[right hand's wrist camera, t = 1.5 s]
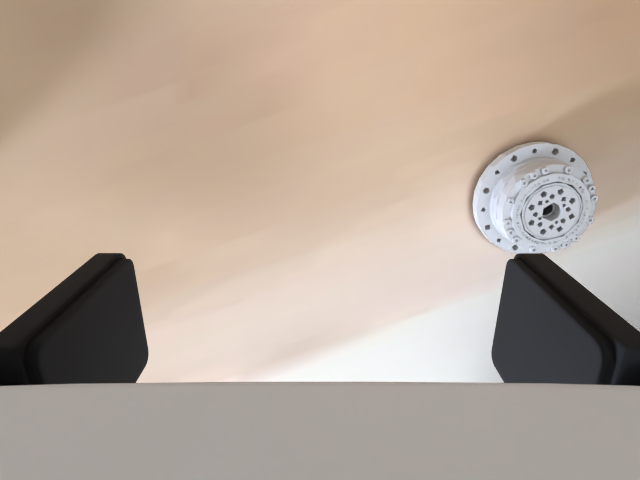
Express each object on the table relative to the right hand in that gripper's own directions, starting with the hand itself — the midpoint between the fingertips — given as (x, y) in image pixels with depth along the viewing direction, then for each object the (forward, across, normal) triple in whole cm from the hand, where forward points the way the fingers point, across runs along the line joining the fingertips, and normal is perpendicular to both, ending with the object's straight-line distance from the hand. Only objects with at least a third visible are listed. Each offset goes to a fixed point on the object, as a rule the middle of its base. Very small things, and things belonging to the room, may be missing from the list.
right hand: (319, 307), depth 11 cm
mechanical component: (+28, -19, +5) cm, 34 cm away
